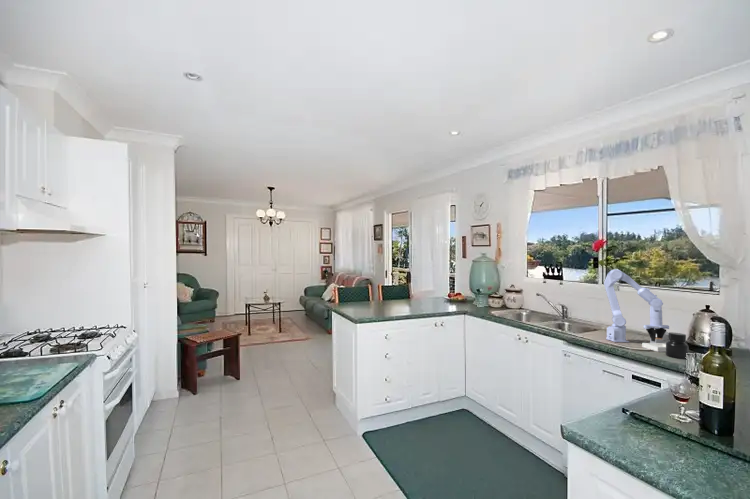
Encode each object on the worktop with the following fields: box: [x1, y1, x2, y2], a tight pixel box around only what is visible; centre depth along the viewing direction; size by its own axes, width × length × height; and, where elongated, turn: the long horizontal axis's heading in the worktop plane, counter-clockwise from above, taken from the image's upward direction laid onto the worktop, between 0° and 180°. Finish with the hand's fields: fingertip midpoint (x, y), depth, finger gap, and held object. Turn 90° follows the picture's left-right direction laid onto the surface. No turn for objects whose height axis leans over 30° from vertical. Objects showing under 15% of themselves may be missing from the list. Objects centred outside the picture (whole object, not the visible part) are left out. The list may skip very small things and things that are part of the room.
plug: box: [649, 337, 662, 343], centre depth 205 cm, size 4×4×5 cm
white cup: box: [656, 331, 670, 343], centre depth 208 cm, size 8×8×10 cm
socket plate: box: [641, 342, 666, 353], centre depth 195 cm, size 16×10×3 cm, turn 95°
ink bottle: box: [665, 331, 690, 360], centre depth 180 cm, size 10×9×12 cm
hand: (656, 341), depth 205 cm, fingers closed on plug, 4 cm apart
